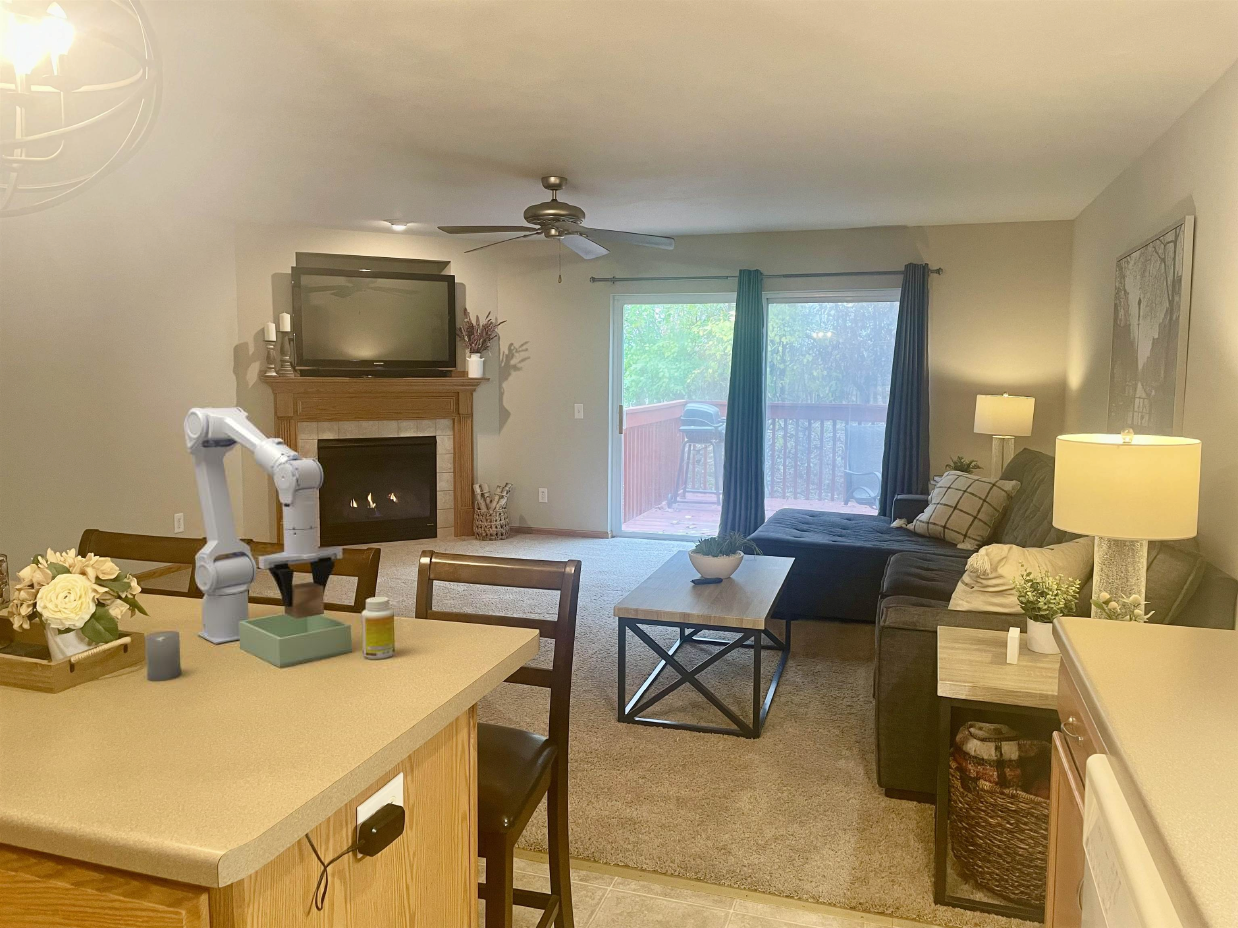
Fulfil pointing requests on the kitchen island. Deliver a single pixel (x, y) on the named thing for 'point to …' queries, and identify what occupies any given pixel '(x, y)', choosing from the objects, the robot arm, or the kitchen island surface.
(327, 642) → the tote
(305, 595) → the cube
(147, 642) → the cylinder
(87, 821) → the kitchen island surface
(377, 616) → the supplement bottle
